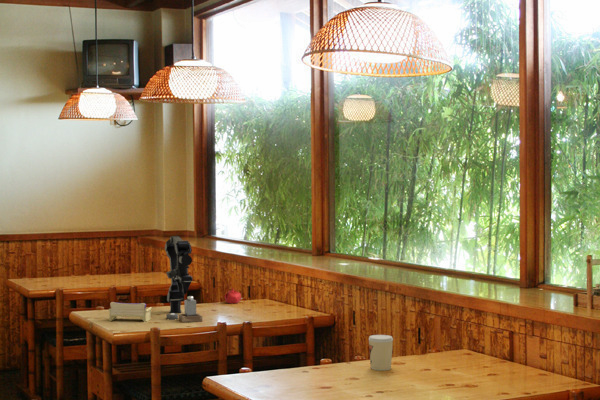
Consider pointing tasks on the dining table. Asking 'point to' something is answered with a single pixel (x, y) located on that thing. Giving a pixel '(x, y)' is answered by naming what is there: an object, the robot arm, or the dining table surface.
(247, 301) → the dining table surface
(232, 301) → the pomegranate
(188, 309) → the grey square bottle
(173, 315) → the rubber wheel
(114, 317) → the toy sofa
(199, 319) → the chassis bay
